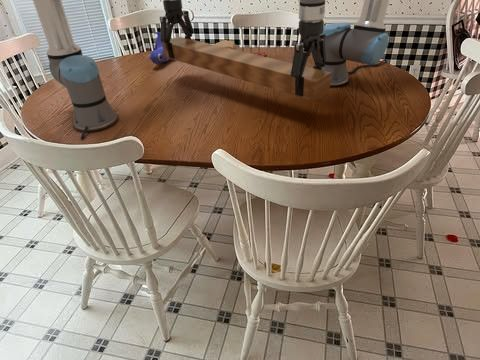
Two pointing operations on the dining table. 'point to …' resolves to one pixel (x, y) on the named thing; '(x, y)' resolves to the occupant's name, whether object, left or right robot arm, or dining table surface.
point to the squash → (227, 44)
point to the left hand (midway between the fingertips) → (180, 54)
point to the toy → (158, 52)
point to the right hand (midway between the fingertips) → (307, 90)
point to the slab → (249, 67)
